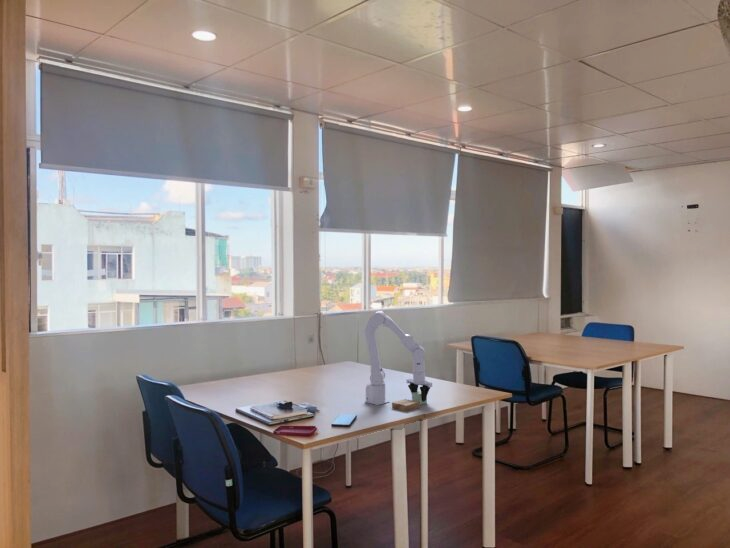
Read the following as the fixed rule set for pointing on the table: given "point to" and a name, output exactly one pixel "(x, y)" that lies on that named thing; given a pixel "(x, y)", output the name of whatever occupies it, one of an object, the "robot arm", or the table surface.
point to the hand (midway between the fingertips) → (419, 400)
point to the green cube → (418, 397)
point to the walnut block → (405, 405)
